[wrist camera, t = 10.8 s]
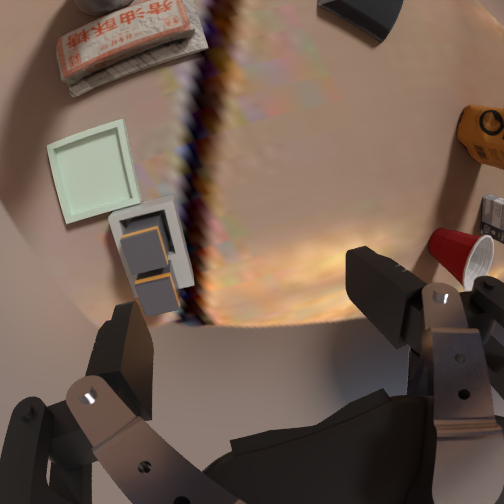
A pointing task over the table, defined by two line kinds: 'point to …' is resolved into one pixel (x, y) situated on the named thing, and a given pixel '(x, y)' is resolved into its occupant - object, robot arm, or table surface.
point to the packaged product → (128, 43)
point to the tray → (94, 171)
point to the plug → (146, 243)
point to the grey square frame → (163, 279)
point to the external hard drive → (367, 14)
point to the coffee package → (483, 134)
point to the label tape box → (493, 217)
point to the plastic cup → (462, 254)
